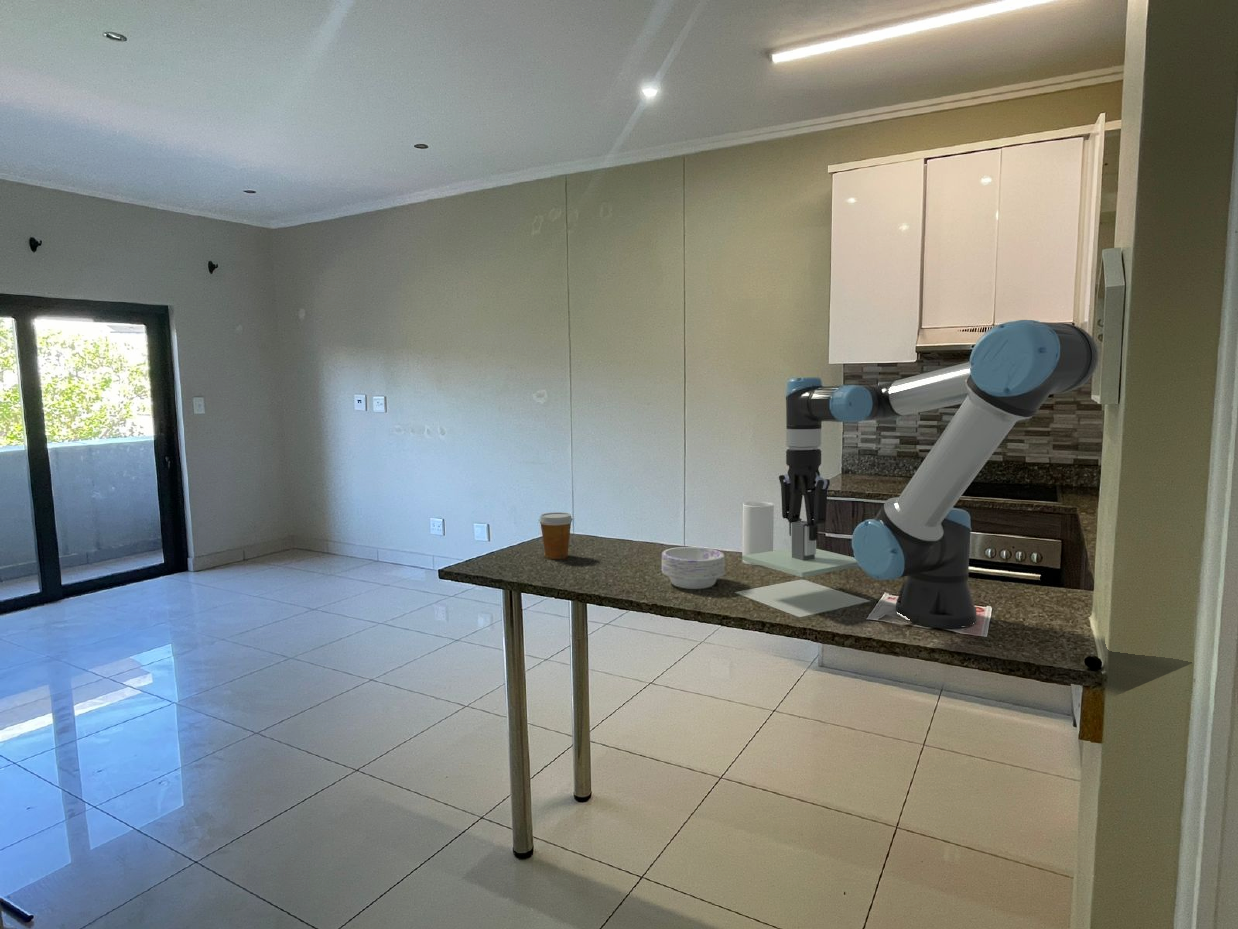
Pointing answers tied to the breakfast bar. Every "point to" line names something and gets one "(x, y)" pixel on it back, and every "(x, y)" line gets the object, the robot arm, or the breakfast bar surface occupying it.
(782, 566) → the cover
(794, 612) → the mat
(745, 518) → the cup
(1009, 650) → the breakfast bar surface
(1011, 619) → the breakfast bar surface
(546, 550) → the disposable coffee cup
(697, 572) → the paper bowls
